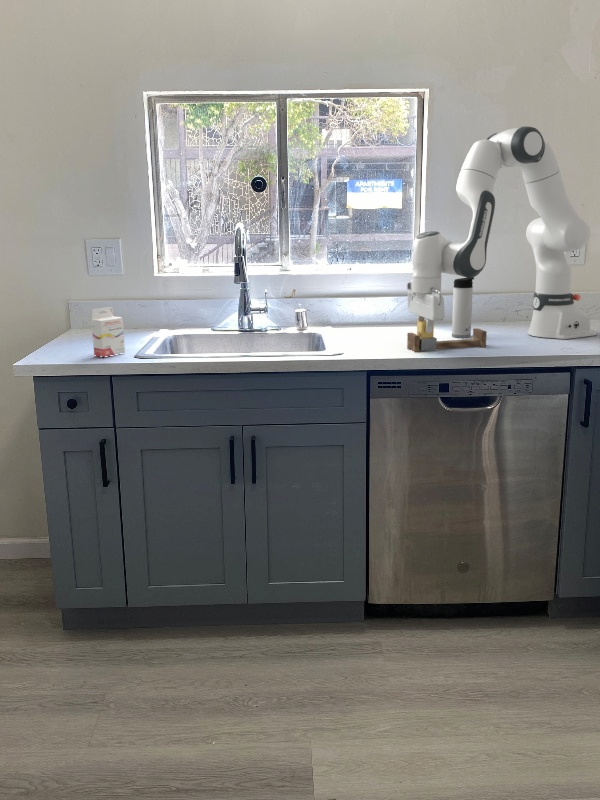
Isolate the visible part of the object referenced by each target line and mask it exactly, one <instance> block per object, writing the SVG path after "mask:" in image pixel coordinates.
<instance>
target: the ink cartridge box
mask: <svg viewBox="0 0 600 800" xmlns="http://www.w3.org/2000/svg"><path fill="white" fill-rule="evenodd" d="M101 312H105V313H101ZM90 314H91V321H90V322H91V332H92V334H91V335H92V345H93V356H94V355H96V356H102V357H105V356H110V355H115V354H120V353H125V354H126V352H125V351H126V348H125V331H124V322H123V321H124V318H123V317H122V316H114V307H113V306H110V307H107V306H106V307H101V308H100V307H99V308H94V309H93V308H92V309H91V313H90ZM96 356H95V357H96Z"/></svg>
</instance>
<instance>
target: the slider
mask: <svg viewBox="0 0 600 800" xmlns="http://www.w3.org/2000/svg"><path fill="white" fill-rule="evenodd" d="M426 324H427V322H426V319H424V320H419V321H418V320H417V321H416V334H417V335H419V336H420V337H419V343H420V350H421V352H422V351H423V352H424V351H436V345H437V341H438V338H437V337H434V335H435V334H434V330H435V329H434V327H435V323H434V324H433V326H432V332H431V333H427V332H425V326H426Z"/></svg>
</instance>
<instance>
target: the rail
mask: <svg viewBox="0 0 600 800" xmlns="http://www.w3.org/2000/svg"><path fill="white" fill-rule="evenodd" d="M487 333H488V332H487V331H486V330H484V329H481V328H478V327H477V328H476V327H475V328H474V327H473V329H472V338H461V339H451V340H450V339H449V340H437V345H436V349H437V350H447V349H448V350H449V349H463V348H476V347H480V348H486V346H487ZM406 336H407V342H406V344H407V345H406V347H407V348H406V349H407V350H409V351H411V350H412V352H413V351H414V352H413V353H419V352H420V343H419V337H420V336H419V335H417V333H415V332H407V335H406Z"/></svg>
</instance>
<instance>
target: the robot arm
mask: <svg viewBox="0 0 600 800" xmlns="http://www.w3.org/2000/svg"><path fill="white" fill-rule="evenodd" d="M516 166H518V167H519V169H520V170H521V174H522V179H523V183H524V186H525V189H526V194H527V197H528V201H529V205H530V206H531V208H532V209H533V210H535V212H536V213H537V214H538V215H539V217H538V218H535V219H533V220H532V221H530V223H528V225H527V227H526V231H525V236H526V240H527V242H528V244H529V245H530V246H531V249H532V252H533V257H534V263H535V273H536V274H535V291H534V293H533V299H532V305H533V306H532V307H533V312H532V317H531V322H530V325H529V328H528V331H527V334H528V335H529V336H533V337H538V338H549V339H559V340H567V339H568V340H569V339H577V338H578V339H579V338H585V337H592V336H597V335H598V333H597V331H596V330H593V329H591V322H590V321H591V320H590V317H589V316H588V314H587V313H585V312H584V311H583V310H582V309H581V308H580V307H578V305H576V304H575V302H574V301H577V302H578V301H580V300H581V298H582V296H581V295H580V294H577V293H575V294H573V293H571V284H572V273H573V271H572V268H571V267H572V266H570V264H569V263H568V261H567V259H566V254H565V253H568V252H574V251H578V250H580V249H582V248H583V247H585V246H586V245H587V243H588V242H589V239H590V236H591V231H590V227H589V224H588V223H587V222H586V221H585V220H583V218H581V217H580V215H579V214H578V213H577V212H576V209H575V208H574V206H573V205H572V203H571V201H570V200H569V197H568V195H567V192H566V189H565V187H564V182H563V178H562V175H561V171H560V166H559V164H558V161H557V159H556V156H555V154H554V151H553V149H552V146H551V144H550V143H549V142H548V141H546V140H545V139H544V137H543V135H542V133H541V132H540V130H539V129H538V128H536V127H534V126H520V127H515V128H508V129H506V130H503V131H501V132H496V133H493V134H492V135H490V136H488V137H487V138H485V139H480V140H477V141H475V142H474V143H473V144H472V145H471V147H470V149H469V151H468V153H467V154H466V157H465V158H464V161H463V163H462V166H461V169H460V172H459V174H458V177H457V182H456V186H455V191H456V194H457V197H458V198H459V199H460V201H461V202H462V203H464V204H465V205H466V206H468V207H469V208H471V211H472V218H471V224H470V228H469V232H468V237H467V239H466V241H464V242H456V241H454V242H453V241H452V240H449V239H447V238H446V237H444V236H443V235H442V233H441V232H439V231H435V230H434V231H426V232H425V231H424V232H422V233H419V234H418V235H416V236H415V239H414V242H413V246H412V247H413V248H412V266H413V271H412V275H411V280H409V281H408V282H407V283H406V289H407V290H408V291H407V309H408V312H409V313H410V314H413V315H416V319H417V321H419V320H426V322H427V324H426V326H425V332H427V333H431V332H432V326H433V324H434V325H435V321H436V322H439V321H440V322H441V321H443V320H444V319H445V298H444V296H443V295H442V293H441V291H442V274H449V275H456V276H461V277H462V278H473V277H474V278H475V277H477V276H478V275H479V274H480V273H481V272H482V271H483V270H484V268H485V266H486V263H487V250H488V244H489V243H488V242H489V239H490V233H491V228H492V223H493V219H494V215H495V209H496V208H495V207H496V198H495V195H494V187H495V184H496V180H497V177H498V174H499V170H500V169H501V168H513V167H516Z"/></svg>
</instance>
